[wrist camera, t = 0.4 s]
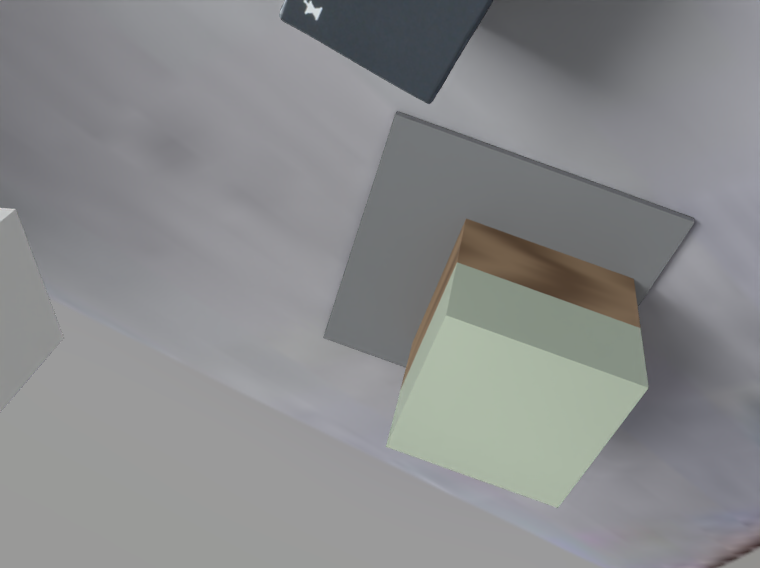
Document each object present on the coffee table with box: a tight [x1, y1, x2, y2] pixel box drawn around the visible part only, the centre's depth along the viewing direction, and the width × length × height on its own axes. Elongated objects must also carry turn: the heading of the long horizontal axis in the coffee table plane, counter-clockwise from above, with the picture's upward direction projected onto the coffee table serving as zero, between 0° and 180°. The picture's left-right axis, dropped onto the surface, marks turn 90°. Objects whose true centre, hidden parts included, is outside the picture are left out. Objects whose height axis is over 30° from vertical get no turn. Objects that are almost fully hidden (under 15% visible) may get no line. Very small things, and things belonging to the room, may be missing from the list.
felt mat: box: [323, 111, 695, 367], centre depth 39 cm, size 15×15×1 cm
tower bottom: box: [401, 219, 640, 388], centre depth 38 cm, size 9×9×4 cm
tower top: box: [386, 262, 649, 508], centre depth 35 cm, size 9×9×4 cm
